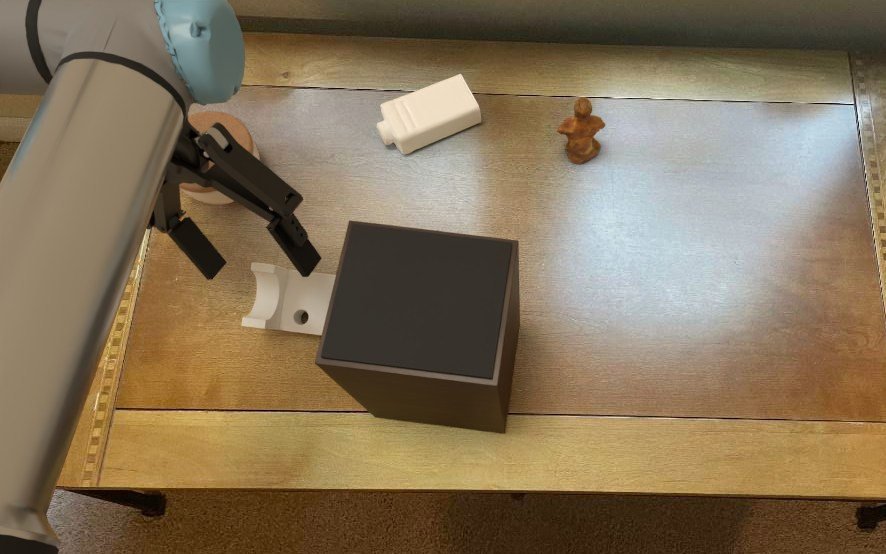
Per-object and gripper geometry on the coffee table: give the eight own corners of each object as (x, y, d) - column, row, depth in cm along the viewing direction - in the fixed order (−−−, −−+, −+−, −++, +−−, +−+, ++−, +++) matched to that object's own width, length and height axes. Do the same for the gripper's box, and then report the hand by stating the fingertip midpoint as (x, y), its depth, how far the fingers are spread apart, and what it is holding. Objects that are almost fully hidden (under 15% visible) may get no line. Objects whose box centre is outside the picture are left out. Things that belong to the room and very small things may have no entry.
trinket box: (171, 203, 90) (133, 166, 82) (212, 134, 94) (179, 91, 85) (248, 228, 89) (218, 193, 81) (286, 158, 93) (261, 117, 84)
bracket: (268, 328, 86) (241, 325, 78) (277, 269, 86) (251, 262, 79) (374, 341, 85) (358, 340, 78) (383, 283, 86) (367, 276, 79)
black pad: (492, 379, 58) (492, 378, 57) (321, 358, 58) (320, 356, 58) (512, 244, 62) (512, 242, 62) (353, 225, 62) (352, 223, 62)
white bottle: (373, 124, 95) (367, 106, 91) (461, 88, 97) (459, 69, 93) (392, 163, 93) (386, 146, 89) (482, 125, 95) (480, 107, 91)
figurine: (559, 135, 95) (563, 79, 84) (601, 141, 95) (612, 86, 84) (554, 164, 94) (558, 112, 82) (597, 171, 93) (607, 119, 82)
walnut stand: (505, 434, 81) (497, 386, 58) (374, 417, 81) (314, 363, 58) (520, 325, 86) (518, 240, 62) (396, 309, 86) (348, 219, 63)
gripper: (252, 45, 58) (374, 240, 71) (67, 88, 69) (202, 249, 82) (196, 95, 53) (338, 293, 67) (6, 132, 64) (160, 296, 78)
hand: (263, 269), depth 75 cm, fingers open, 13 cm apart
